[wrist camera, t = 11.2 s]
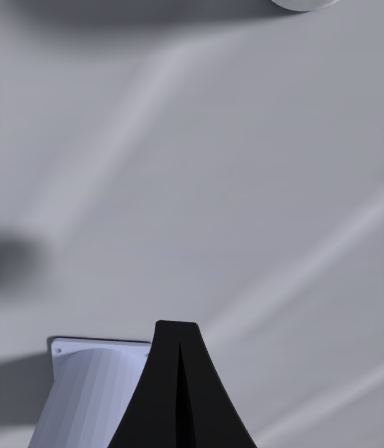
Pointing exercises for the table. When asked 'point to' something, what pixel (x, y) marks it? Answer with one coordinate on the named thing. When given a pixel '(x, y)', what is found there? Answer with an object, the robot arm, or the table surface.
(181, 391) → the robot arm
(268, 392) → the table surface
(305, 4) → the grey cylinder
